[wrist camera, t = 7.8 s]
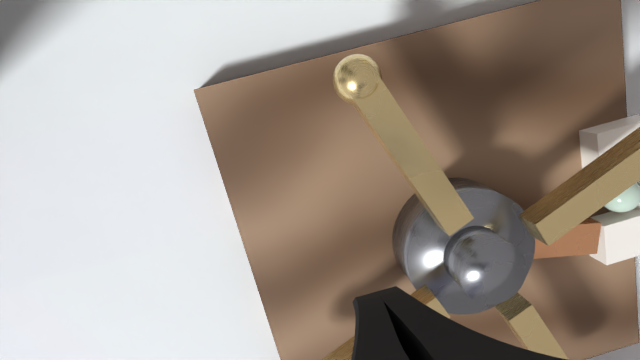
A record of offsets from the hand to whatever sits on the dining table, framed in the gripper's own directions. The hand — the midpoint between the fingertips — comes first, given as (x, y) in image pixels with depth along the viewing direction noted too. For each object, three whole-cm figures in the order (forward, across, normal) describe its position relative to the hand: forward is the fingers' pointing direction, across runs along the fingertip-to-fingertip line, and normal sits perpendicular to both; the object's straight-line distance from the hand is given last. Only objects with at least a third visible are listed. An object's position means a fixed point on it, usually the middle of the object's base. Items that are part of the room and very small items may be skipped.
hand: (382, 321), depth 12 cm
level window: (+9, -15, +2) cm, 17 cm away
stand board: (+10, -6, +2) cm, 12 cm away
